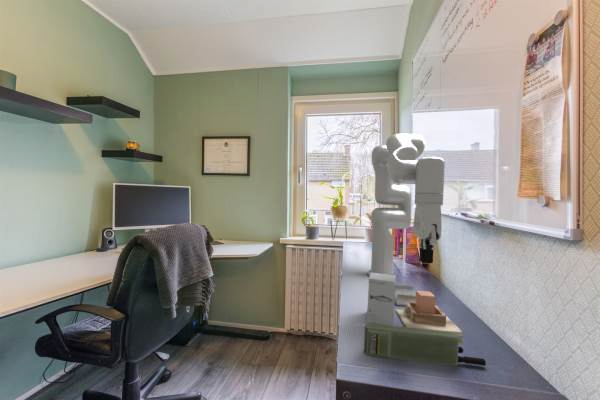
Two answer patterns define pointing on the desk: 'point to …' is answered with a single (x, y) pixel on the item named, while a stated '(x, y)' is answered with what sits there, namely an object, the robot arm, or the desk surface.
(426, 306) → the block
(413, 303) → the socket board
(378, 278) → the supplement box
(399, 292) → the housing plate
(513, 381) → the desk surface
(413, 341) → the handheld radio
